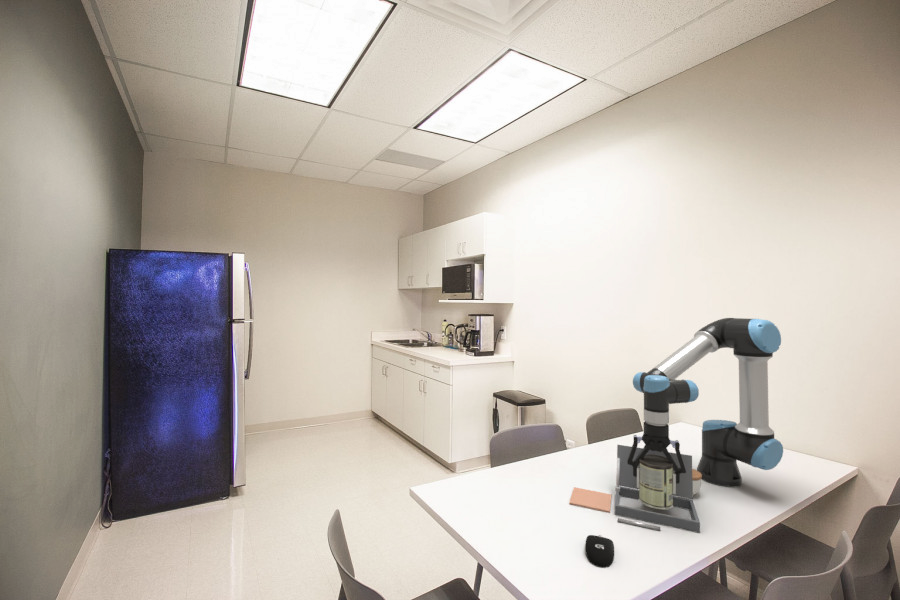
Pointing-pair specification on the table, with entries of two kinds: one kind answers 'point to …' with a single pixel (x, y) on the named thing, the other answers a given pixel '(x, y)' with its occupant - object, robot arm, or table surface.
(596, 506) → the pad
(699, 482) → the lidded jar
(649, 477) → the coffee can
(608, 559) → the computer mouse
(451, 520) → the table surface
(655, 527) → the rod
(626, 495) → the case
